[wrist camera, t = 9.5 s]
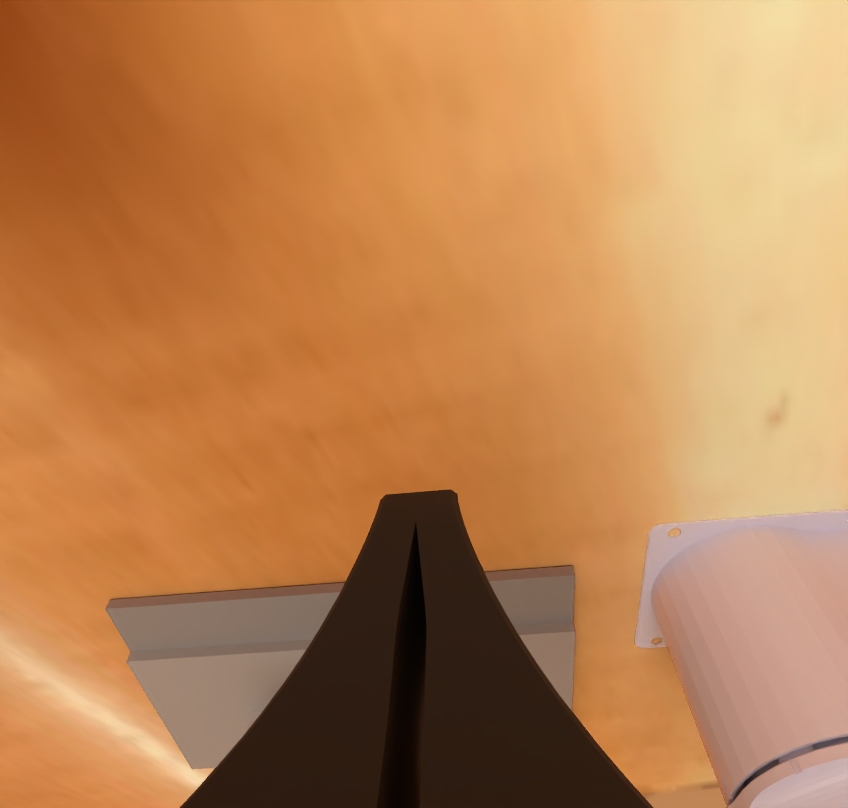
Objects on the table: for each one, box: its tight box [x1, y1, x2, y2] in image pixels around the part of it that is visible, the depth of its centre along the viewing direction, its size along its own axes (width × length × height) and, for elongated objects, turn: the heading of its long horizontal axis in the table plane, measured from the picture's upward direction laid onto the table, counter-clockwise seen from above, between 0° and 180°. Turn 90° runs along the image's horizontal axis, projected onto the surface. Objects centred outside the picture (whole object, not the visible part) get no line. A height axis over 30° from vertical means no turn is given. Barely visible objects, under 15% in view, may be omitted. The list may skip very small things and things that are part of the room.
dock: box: [106, 566, 575, 769], centre depth 28 cm, size 20×12×3 cm, turn 96°
